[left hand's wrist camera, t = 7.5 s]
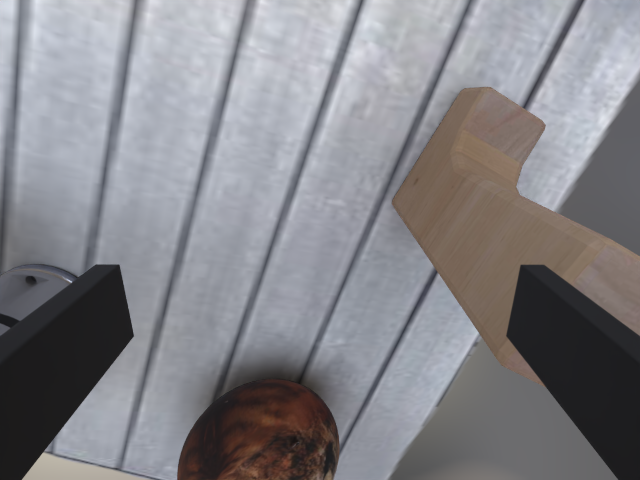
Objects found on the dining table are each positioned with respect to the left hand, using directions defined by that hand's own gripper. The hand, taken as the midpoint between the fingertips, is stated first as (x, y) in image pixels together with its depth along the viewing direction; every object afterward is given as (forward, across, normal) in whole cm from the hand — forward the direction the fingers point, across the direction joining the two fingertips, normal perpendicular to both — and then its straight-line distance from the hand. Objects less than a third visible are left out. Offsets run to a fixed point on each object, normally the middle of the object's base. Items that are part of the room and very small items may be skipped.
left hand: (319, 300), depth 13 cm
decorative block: (+34, -15, +1) cm, 37 cm away
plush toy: (+34, +8, +37) cm, 51 cm away
